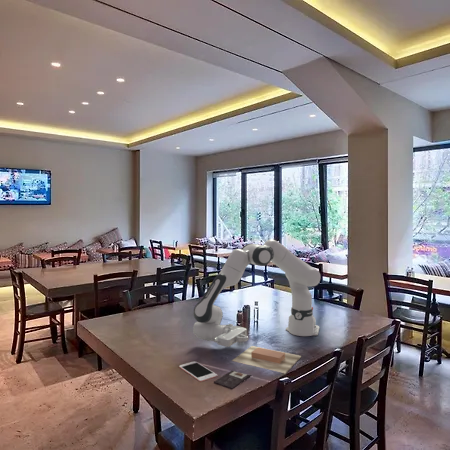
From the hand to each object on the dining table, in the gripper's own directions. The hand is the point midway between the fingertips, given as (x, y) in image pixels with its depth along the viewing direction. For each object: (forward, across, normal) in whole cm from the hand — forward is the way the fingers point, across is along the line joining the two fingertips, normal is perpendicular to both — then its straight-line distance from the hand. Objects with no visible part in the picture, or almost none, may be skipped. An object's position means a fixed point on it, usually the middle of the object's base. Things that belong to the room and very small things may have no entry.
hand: (247, 339), depth 175 cm
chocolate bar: (+6, -24, +9) cm, 26 cm away
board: (+10, 0, +8) cm, 13 cm away
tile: (+4, 0, +6) cm, 7 cm away
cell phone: (-11, -27, +9) cm, 30 cm away
